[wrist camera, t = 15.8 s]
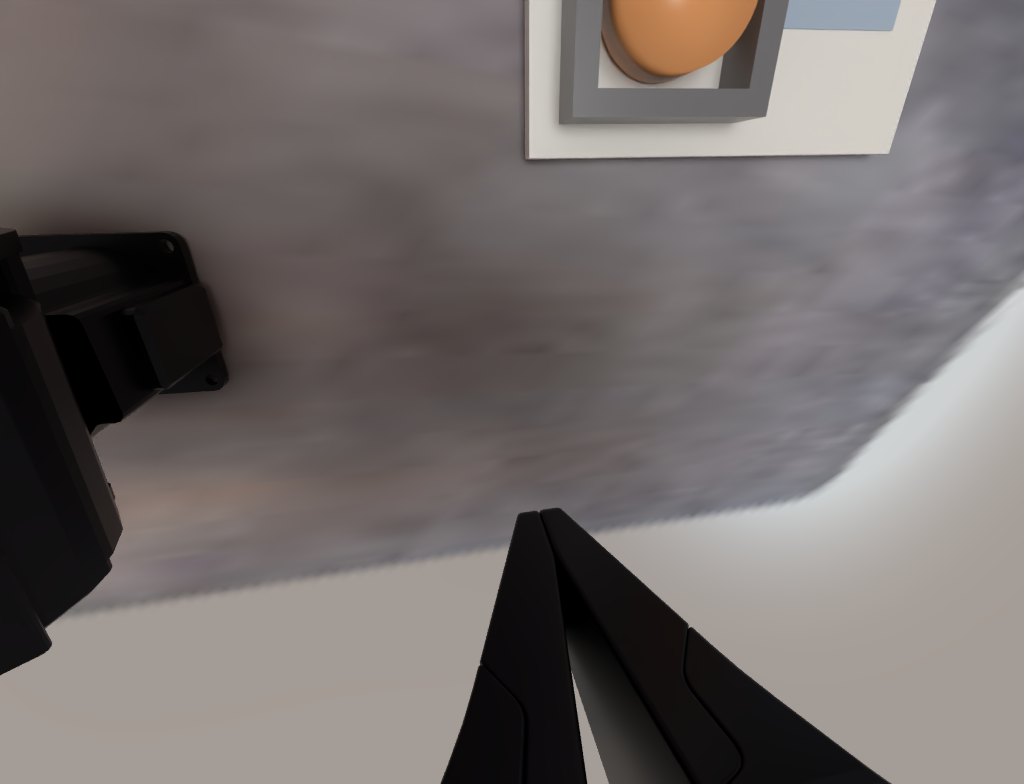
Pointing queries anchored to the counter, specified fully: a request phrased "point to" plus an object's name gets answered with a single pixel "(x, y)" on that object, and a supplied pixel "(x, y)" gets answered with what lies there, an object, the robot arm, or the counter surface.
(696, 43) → the button
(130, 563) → the counter surface
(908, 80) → the picture board
